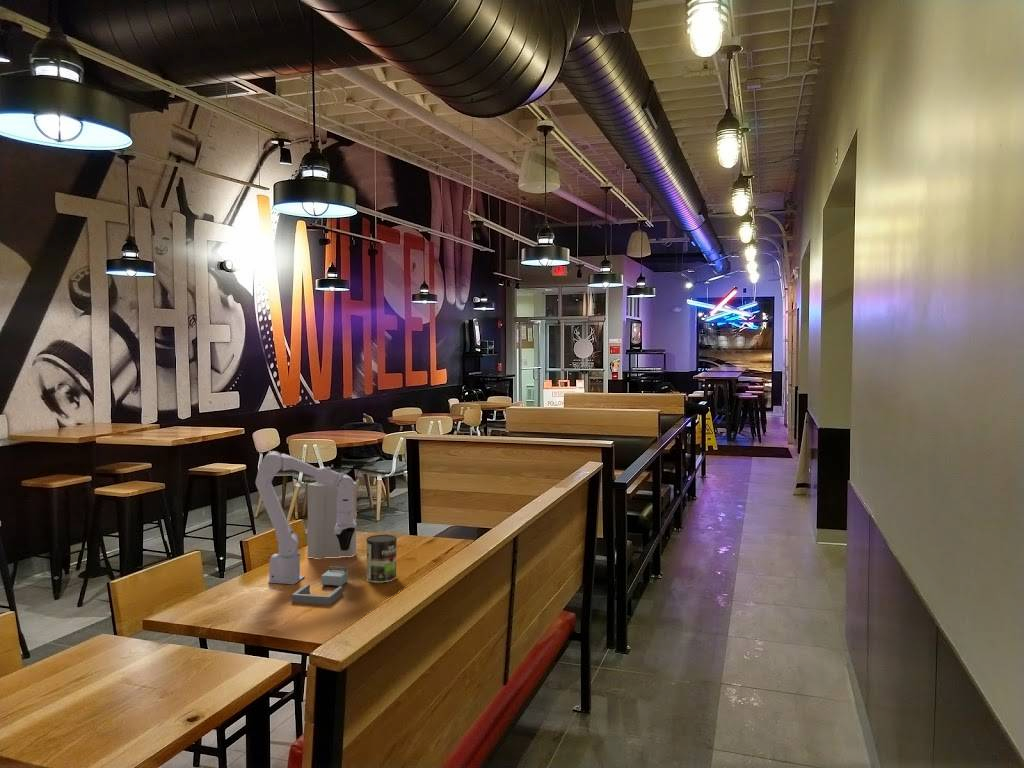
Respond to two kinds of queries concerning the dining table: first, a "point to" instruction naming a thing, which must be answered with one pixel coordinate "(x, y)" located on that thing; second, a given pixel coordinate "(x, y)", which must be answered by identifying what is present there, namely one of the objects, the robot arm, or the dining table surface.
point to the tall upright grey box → (325, 522)
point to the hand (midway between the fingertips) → (345, 549)
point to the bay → (315, 596)
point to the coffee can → (381, 558)
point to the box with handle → (334, 576)
